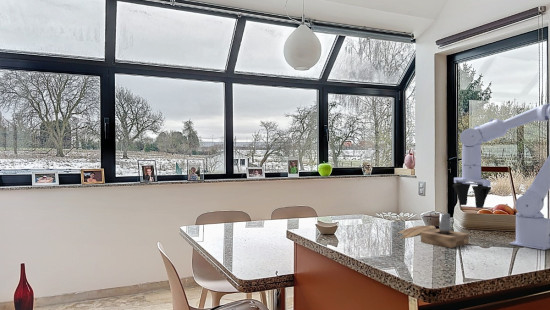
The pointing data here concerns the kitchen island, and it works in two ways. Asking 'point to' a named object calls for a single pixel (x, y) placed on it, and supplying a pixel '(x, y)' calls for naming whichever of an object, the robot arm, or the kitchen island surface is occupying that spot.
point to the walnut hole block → (445, 238)
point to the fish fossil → (416, 231)
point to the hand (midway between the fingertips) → (471, 206)
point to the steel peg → (444, 223)
